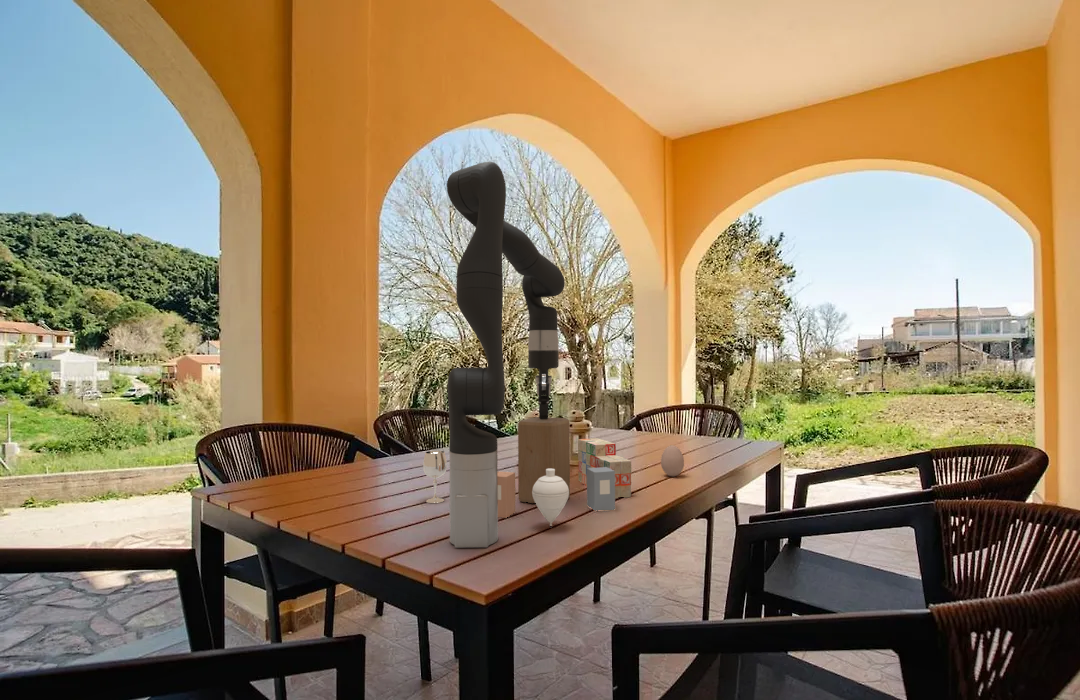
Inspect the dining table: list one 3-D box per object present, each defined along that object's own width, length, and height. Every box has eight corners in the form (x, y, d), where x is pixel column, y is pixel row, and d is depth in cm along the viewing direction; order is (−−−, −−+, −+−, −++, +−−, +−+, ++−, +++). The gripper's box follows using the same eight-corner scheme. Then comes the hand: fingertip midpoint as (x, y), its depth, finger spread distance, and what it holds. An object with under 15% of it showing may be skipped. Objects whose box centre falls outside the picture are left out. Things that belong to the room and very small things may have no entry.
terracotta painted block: (506, 518, 121) (506, 477, 122) (486, 516, 123) (485, 475, 123) (515, 512, 126) (515, 472, 126) (495, 510, 128) (495, 471, 128)
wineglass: (419, 503, 134) (419, 453, 135) (429, 497, 140) (429, 449, 140) (441, 504, 133) (441, 454, 133) (450, 498, 139) (450, 450, 139)
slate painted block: (615, 510, 127) (614, 471, 127) (594, 512, 126) (594, 472, 126) (606, 504, 132) (606, 467, 132) (587, 506, 131) (586, 468, 131)
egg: (680, 473, 166) (680, 443, 166) (686, 478, 160) (686, 447, 160) (658, 474, 166) (658, 443, 166) (664, 479, 159) (663, 447, 160)
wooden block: (516, 502, 135) (516, 420, 135) (536, 493, 143) (535, 416, 144) (553, 507, 130) (553, 422, 130) (571, 497, 139) (570, 417, 139)
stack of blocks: (632, 497, 139) (631, 448, 139) (609, 499, 137) (608, 449, 137) (598, 480, 159) (597, 437, 160) (577, 481, 158) (577, 438, 158)
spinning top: (544, 519, 120) (543, 464, 120) (575, 524, 116) (575, 467, 116) (525, 529, 113) (524, 470, 114) (558, 535, 109) (557, 474, 110)
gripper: (559, 348, 131) (559, 422, 130) (557, 349, 144) (557, 416, 144) (527, 348, 131) (528, 422, 130) (528, 349, 144) (528, 416, 144)
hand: (543, 418), depth 137 cm, fingers closed
